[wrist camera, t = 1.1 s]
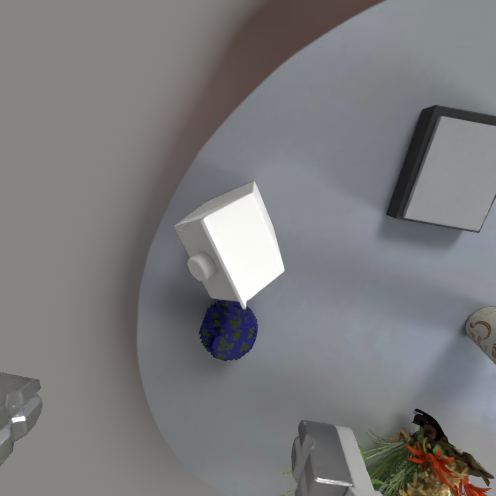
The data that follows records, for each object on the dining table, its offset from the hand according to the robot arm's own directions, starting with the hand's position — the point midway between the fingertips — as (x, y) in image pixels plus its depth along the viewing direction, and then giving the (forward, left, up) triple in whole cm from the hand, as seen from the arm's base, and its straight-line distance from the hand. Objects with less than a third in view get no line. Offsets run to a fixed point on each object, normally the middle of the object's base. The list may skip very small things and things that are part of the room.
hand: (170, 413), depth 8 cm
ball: (+15, +1, -30) cm, 33 cm away
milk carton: (-1, 0, -30) cm, 30 cm away
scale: (-11, +25, -30) cm, 40 cm away
